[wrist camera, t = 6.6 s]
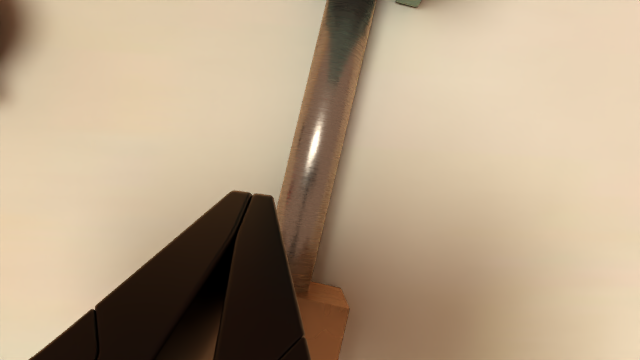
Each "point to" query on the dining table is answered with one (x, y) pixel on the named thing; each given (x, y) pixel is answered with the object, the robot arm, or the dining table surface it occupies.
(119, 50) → the dining table surface
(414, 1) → the sage green notched block
